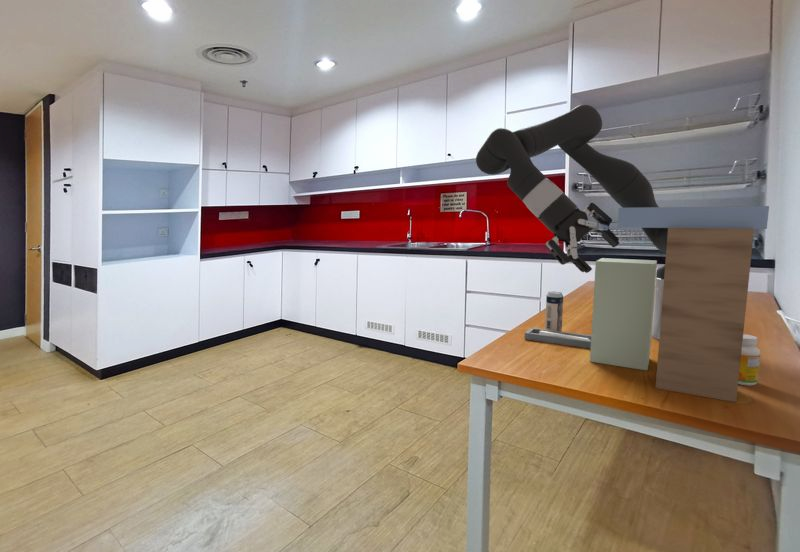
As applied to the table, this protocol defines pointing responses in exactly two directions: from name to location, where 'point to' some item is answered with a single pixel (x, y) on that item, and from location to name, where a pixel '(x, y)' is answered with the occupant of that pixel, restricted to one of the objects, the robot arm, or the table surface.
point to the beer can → (554, 311)
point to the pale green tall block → (623, 312)
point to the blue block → (695, 217)
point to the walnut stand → (704, 311)
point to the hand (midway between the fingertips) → (603, 258)
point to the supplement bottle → (749, 361)
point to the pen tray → (558, 338)
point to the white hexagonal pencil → (562, 335)
